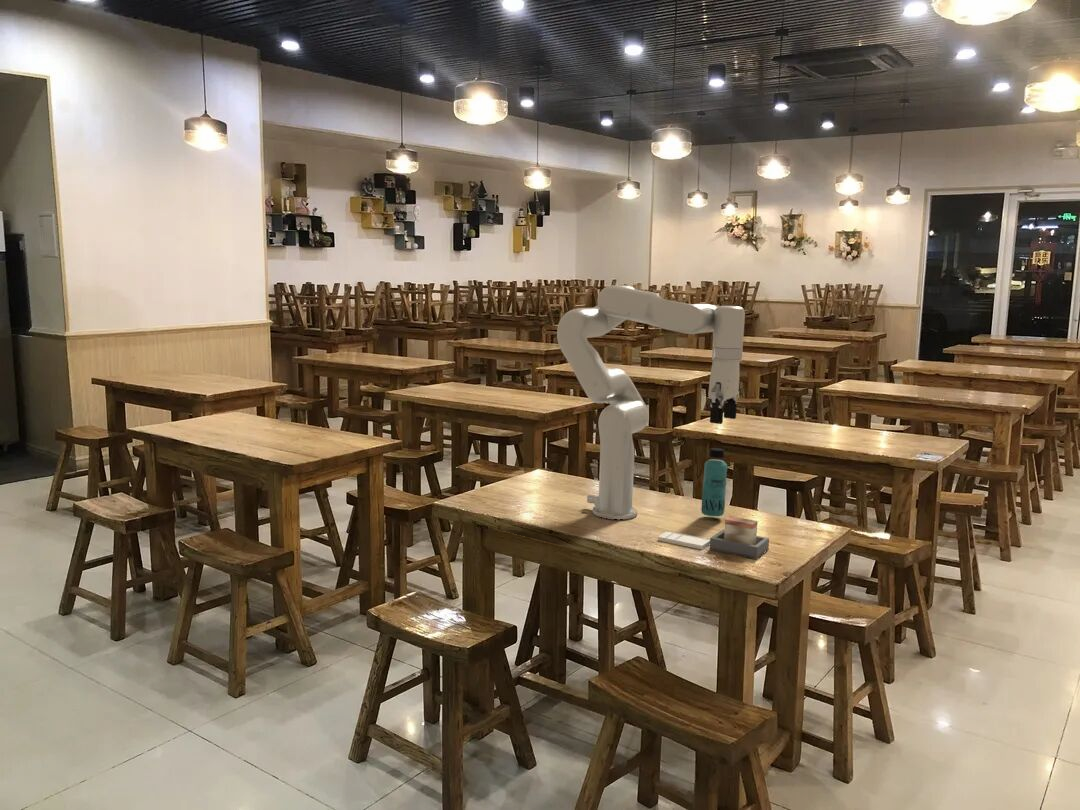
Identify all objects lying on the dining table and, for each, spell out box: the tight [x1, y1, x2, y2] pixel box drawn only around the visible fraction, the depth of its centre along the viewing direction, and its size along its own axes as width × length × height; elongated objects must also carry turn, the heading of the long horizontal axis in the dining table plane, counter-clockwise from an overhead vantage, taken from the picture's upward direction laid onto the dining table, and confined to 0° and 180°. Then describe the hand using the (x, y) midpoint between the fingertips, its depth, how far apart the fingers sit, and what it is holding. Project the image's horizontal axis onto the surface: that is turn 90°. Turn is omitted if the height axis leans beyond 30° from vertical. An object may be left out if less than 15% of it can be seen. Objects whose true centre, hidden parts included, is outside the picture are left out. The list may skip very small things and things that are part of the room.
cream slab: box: [657, 530, 710, 550], centre depth 218 cm, size 12×6×1 cm, turn 58°
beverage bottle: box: [700, 447, 728, 517], centre depth 238 cm, size 6×7×20 cm
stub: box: [724, 515, 759, 546], centre depth 212 cm, size 7×4×7 cm, turn 57°
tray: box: [709, 528, 770, 560], centre depth 212 cm, size 12×9×3 cm
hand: (723, 420), depth 220 cm, fingers open, 9 cm apart
